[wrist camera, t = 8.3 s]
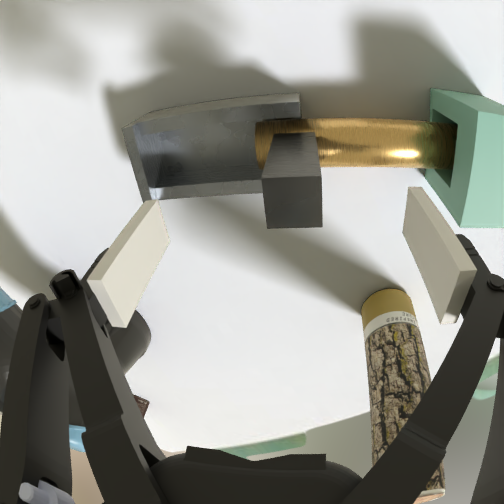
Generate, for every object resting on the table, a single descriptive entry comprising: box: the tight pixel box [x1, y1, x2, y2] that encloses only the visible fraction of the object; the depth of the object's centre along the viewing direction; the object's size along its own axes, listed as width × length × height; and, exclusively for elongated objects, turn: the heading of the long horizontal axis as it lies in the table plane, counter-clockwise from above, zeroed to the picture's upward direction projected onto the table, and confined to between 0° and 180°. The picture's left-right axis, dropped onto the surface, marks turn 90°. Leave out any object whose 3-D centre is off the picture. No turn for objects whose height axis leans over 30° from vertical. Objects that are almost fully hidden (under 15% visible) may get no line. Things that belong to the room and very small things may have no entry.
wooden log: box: [361, 289, 445, 504], centre depth 28 cm, size 7×7×25 cm
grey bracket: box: [122, 93, 301, 203], centre depth 26 cm, size 14×7×6 cm, turn 97°
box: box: [134, 395, 149, 418], centre depth 64 cm, size 6×4×12 cm
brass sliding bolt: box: [255, 118, 458, 229], centre depth 20 cm, size 20×4×12 cm, turn 97°
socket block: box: [425, 88, 504, 228], centre depth 21 cm, size 6×9×9 cm, turn 7°
